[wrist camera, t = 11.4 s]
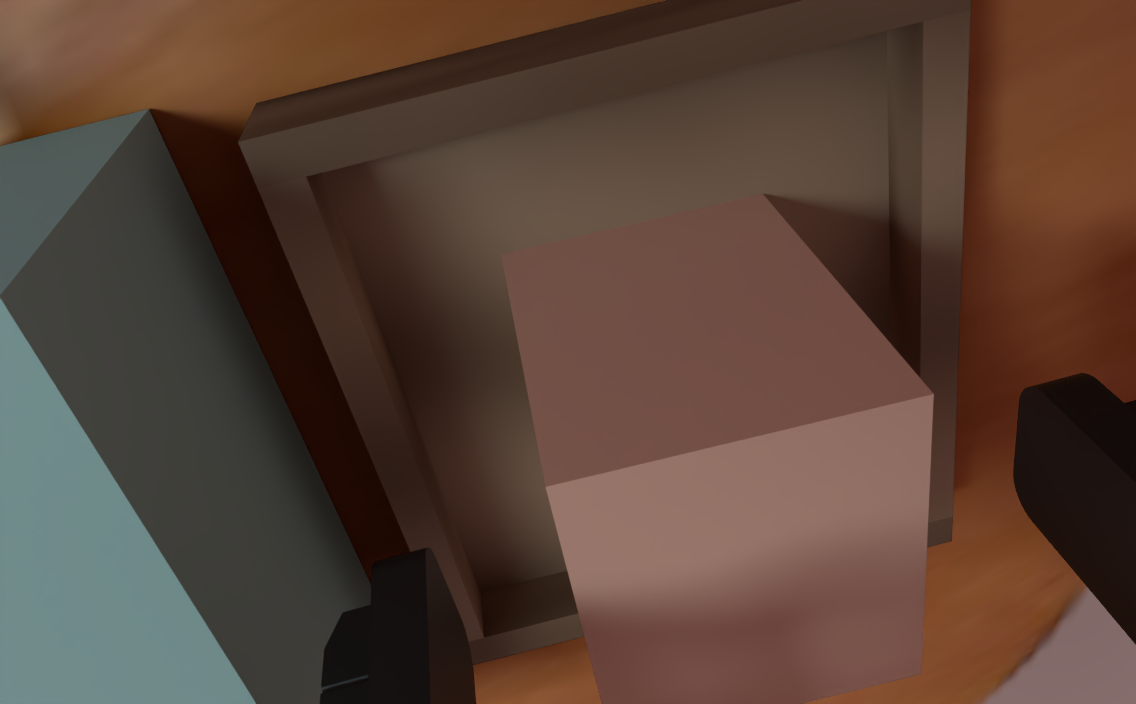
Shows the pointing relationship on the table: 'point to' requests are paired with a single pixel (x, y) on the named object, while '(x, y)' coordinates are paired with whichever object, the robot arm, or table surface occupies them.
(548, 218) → the tray
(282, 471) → the bar
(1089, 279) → the table surface
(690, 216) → the stub
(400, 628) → the robot arm
